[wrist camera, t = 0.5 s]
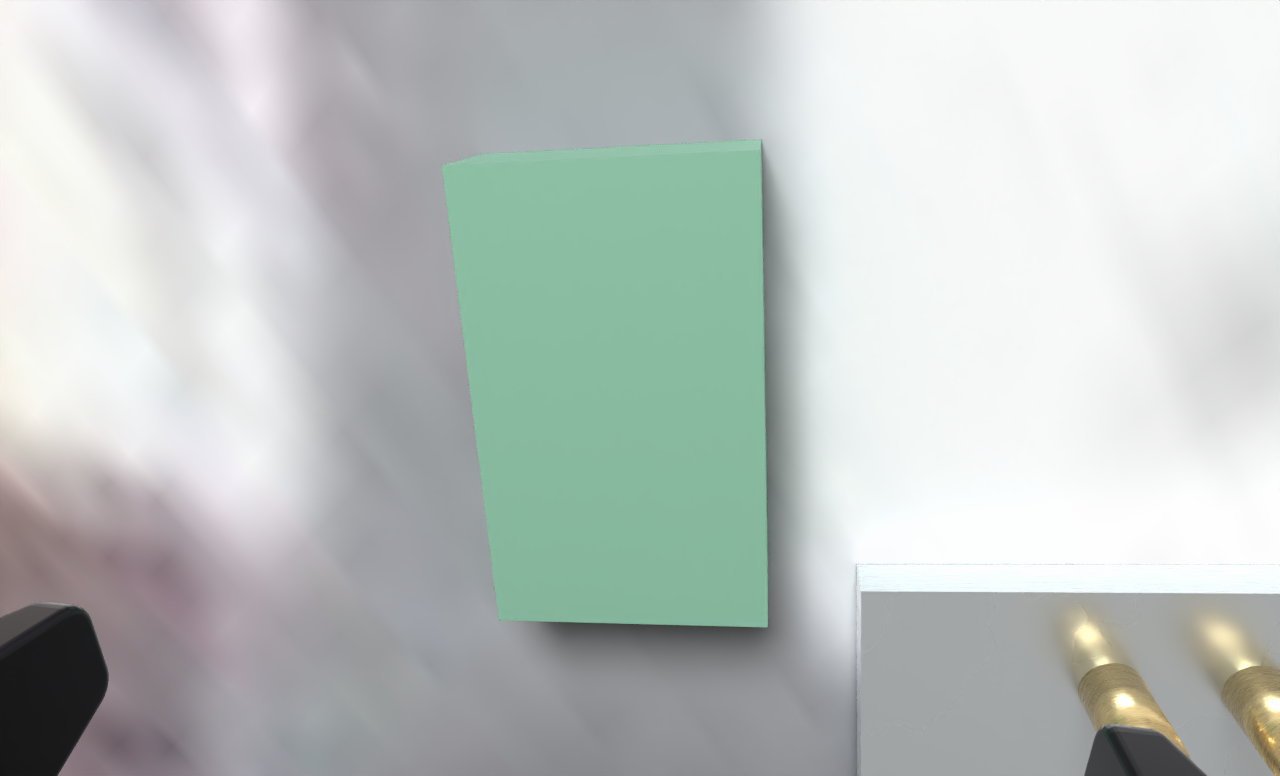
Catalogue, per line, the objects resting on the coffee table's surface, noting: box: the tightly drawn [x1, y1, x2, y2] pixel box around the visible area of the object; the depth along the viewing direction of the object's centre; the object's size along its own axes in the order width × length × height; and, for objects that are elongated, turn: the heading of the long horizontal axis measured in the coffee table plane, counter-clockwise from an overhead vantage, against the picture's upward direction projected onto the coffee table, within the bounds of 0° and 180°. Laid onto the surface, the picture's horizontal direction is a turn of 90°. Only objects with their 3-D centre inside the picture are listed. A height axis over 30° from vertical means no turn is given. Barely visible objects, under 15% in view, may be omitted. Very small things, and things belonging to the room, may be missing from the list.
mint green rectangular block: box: [441, 139, 768, 627], centre depth 20 cm, size 10×6×3 cm, turn 3°
